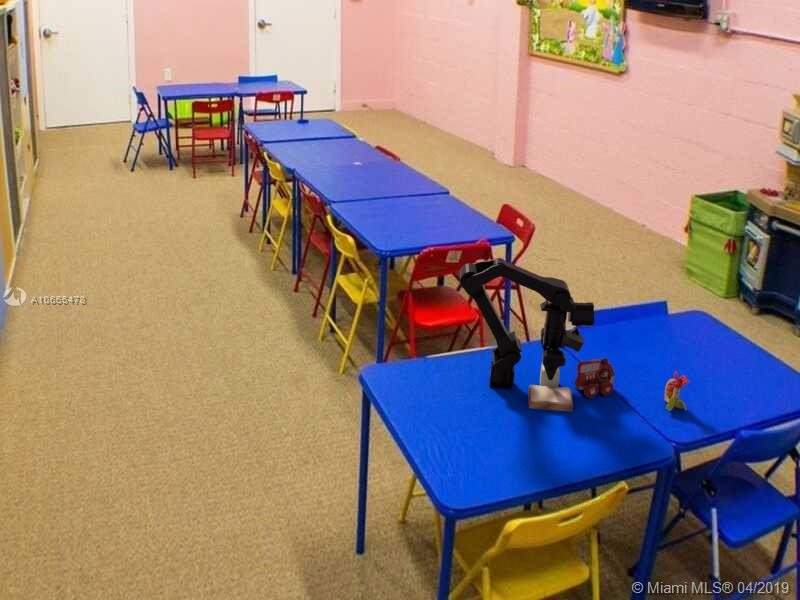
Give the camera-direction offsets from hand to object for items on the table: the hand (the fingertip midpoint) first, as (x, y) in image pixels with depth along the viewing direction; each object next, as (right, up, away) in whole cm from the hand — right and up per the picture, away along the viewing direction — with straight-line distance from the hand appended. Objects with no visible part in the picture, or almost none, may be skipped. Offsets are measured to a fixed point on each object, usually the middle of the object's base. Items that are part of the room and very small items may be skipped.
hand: (549, 371), depth 246 cm
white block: (0, -4, +2) cm, 5 cm away
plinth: (-1, -8, -6) cm, 10 cm away
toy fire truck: (+13, -6, 0) cm, 14 cm away
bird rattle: (+33, -9, -7) cm, 35 cm away
